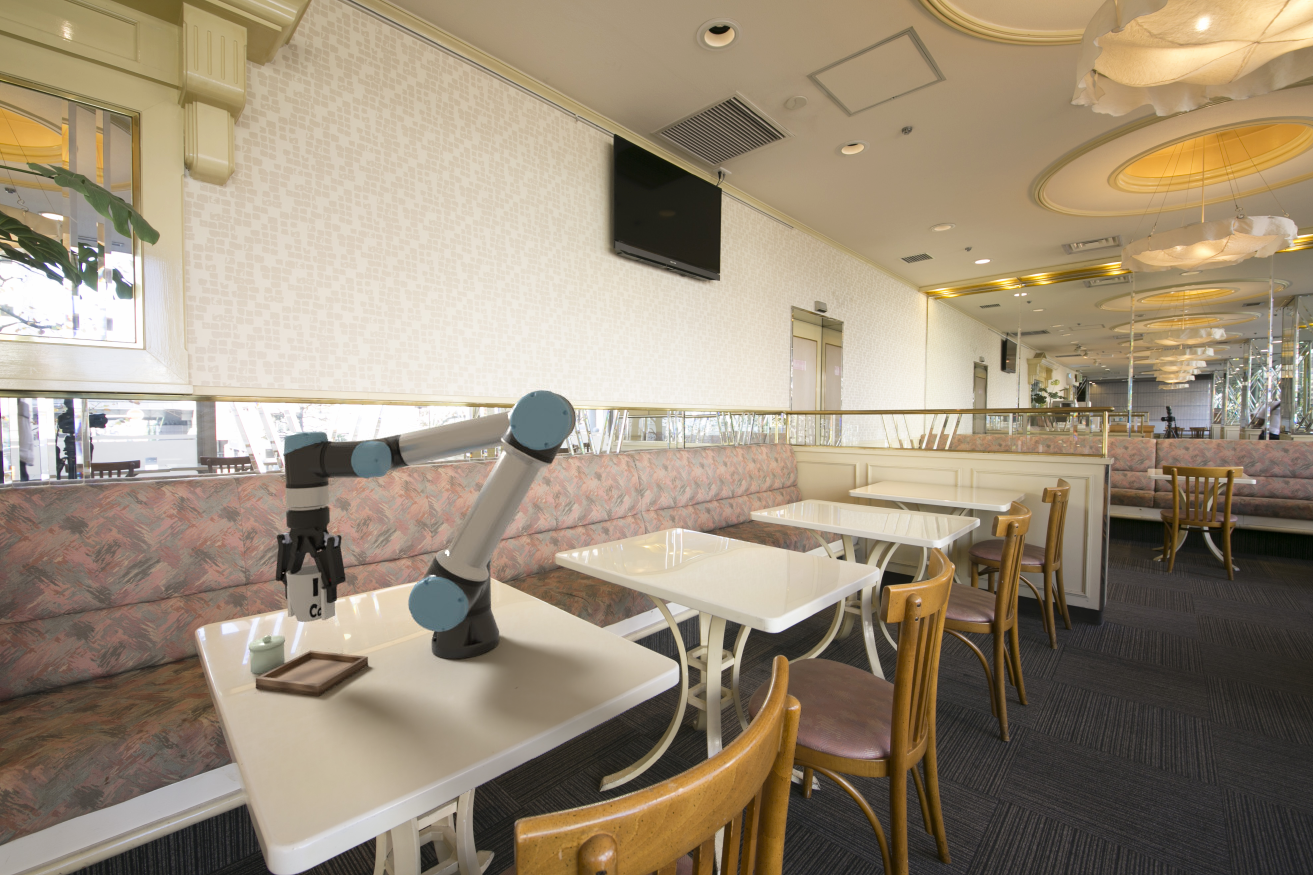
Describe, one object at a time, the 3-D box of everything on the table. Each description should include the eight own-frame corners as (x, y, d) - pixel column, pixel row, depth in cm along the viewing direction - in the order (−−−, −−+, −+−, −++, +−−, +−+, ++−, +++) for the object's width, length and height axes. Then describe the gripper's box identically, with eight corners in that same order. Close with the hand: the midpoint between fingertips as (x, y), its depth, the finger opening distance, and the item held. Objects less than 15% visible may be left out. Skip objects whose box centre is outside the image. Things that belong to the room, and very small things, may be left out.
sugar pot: (293, 661, 120) (291, 630, 120) (266, 675, 114) (265, 642, 114) (269, 659, 122) (268, 628, 121) (241, 672, 116) (240, 640, 115)
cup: (312, 626, 108) (310, 576, 108) (277, 623, 110) (276, 574, 109) (343, 611, 116) (341, 565, 116) (310, 608, 118) (309, 563, 117)
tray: (368, 665, 118) (367, 656, 118) (318, 696, 106) (318, 686, 105) (310, 659, 122) (310, 650, 121) (255, 687, 109) (255, 678, 109)
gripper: (364, 505, 113) (367, 613, 114) (283, 502, 118) (286, 605, 119) (335, 512, 106) (339, 627, 107) (250, 508, 110) (254, 618, 112)
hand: (311, 615), depth 113 cm, fingers closed on cup, 8 cm apart
